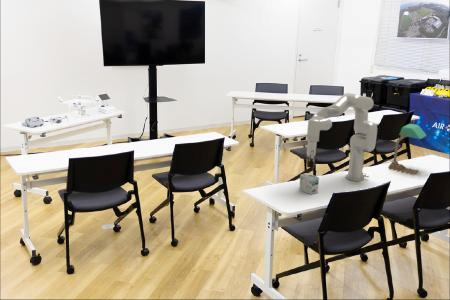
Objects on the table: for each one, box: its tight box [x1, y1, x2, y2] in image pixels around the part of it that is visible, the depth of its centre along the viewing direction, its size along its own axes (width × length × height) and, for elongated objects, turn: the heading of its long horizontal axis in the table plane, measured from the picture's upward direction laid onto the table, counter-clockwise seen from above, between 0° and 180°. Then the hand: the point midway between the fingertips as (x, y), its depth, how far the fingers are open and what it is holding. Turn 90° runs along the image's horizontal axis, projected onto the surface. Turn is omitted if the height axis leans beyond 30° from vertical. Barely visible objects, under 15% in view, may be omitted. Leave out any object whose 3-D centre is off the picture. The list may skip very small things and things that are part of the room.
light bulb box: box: [298, 172, 320, 195], centre depth 291 cm, size 11×7×11 cm, turn 40°
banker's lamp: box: [387, 123, 427, 175], centre depth 334 cm, size 16×21×35 cm
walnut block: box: [306, 156, 316, 169], centre depth 287 cm, size 5×5×5 cm
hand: (310, 165), depth 287 cm, fingers closed on walnut block, 4 cm apart
